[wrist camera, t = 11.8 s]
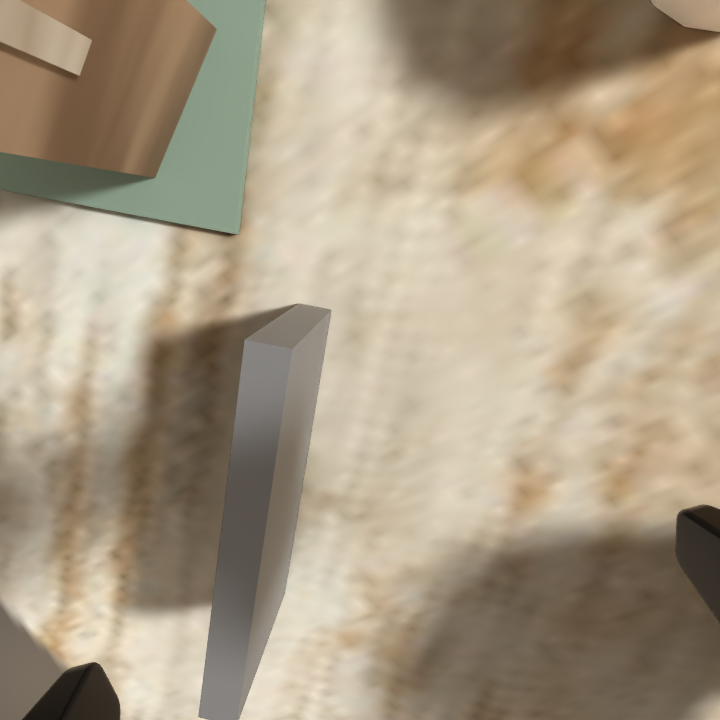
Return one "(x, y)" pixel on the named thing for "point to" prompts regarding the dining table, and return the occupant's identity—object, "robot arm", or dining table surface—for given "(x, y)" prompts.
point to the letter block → (97, 79)
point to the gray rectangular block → (261, 500)
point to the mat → (177, 141)
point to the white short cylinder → (692, 12)
